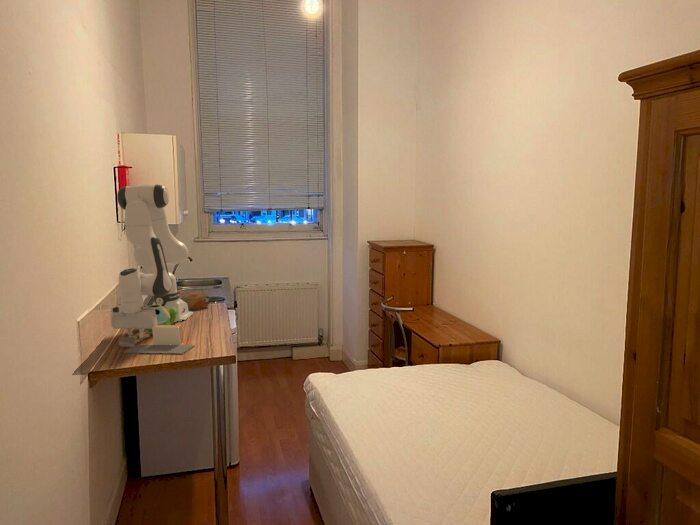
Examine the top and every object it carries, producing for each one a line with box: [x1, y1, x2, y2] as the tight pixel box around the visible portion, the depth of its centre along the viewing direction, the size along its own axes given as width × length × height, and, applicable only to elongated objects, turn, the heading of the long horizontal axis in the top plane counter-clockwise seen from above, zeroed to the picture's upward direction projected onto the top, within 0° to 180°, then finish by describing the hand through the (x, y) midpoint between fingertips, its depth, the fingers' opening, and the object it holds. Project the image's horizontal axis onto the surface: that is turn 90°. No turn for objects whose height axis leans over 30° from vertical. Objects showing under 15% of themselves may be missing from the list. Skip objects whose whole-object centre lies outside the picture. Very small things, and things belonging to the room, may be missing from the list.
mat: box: [122, 344, 195, 355], centre depth 214 cm, size 10×26×1 cm, turn 79°
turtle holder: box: [145, 304, 178, 335], centre depth 244 cm, size 12×18×12 cm
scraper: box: [118, 330, 150, 348], centre depth 227 cm, size 15×7×4 cm, turn 169°
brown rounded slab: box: [181, 292, 211, 310], centre depth 286 cm, size 15×3×8 cm, turn 101°
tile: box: [152, 324, 185, 345], centre depth 220 cm, size 3×12×8 cm, turn 79°
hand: (136, 338), depth 227 cm, fingers closed on scraper, 2 cm apart
